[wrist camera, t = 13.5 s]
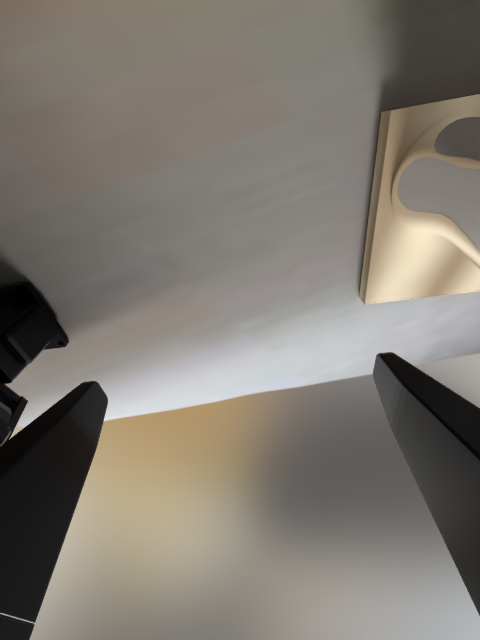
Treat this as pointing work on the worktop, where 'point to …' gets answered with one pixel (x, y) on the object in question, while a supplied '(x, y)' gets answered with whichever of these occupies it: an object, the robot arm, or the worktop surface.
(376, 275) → the birch board
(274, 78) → the worktop surface
